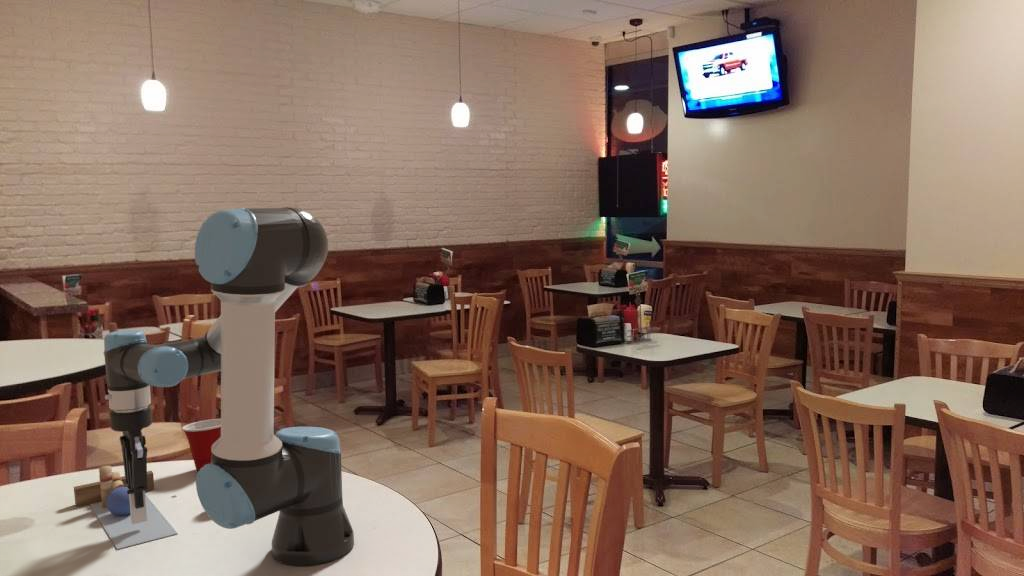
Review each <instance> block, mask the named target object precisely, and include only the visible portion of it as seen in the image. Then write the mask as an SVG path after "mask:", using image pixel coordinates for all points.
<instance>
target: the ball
mask: <svg viewBox="0 0 1024 576" xmlns="http://www.w3.org/2000/svg"><path fill="white" fill-rule="evenodd" d="M127 490H129V489H128V487H119V488H116V489H115V490H113V491H112V492H111V493H110V494H109V496H108V498H107V503H106V504H107V508H108V510H109V511H110V512H111V513H112V514H114V515H117V516H124V515H127V514H129V513H130V501H129V494H127Z"/></svg>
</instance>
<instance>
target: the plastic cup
mask: <svg viewBox="0 0 1024 576" xmlns="http://www.w3.org/2000/svg"><path fill="white" fill-rule="evenodd" d="M181 429H182V431H183V432H184V434H185V436H186V439H187V442H188V445H189V448H190V452H191V456H192V459H193V462H194V466H195V470H196V473H198V472H199V471H200V469H201V468H202V467H204V465H207V464H210V463H211V447H212V445H213V444H214V443H215V442H216V441H217V440H218V439H219V438H220V437H221V418H214V419H213V418H212V419H205V420H200V421H199V420H198V421H195V422H191V423H188V424H186V425H184V426H182V428H181Z"/></svg>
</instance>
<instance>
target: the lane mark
mask: <svg viewBox="0 0 1024 576" xmlns="http://www.w3.org/2000/svg"><path fill="white" fill-rule="evenodd" d="M145 498H146V511H147V521H145V522H141V523H137V524H132V523H131V514H130V513H129V514H127V515H124V516H117V515H114V514H112V513H111V512H110V511H109V510H108V508H102V501H101V502H96V503H92V504H89V506H90V507H91V510H92V511H93V512H94V515H95V516H96V517H97V519H98V520H99V522H100V524H101V525H102V527H103V529H104V530H105V532H106V534H107V536H109V538H110V540H111V542H112V543H113V546H114V547H115V549H116V550H117V551H118V550H122V549H126V548H130V547H133V546H138V545H141V544H145V543H149V542H153V541H156V540H159V539H161V540H162V539H164V538H168V537H173V536H176V535H178V532H177V531H176V530H175V528H174V527H173V526H172V525H171V523H170V522H169V521H168V519H166V517H165V516H164V515H163V513H162V512H161V511H160V510H159V509H158V507H156V505H155V504H154V503H153V501H151V499H150V498H149V497H148V496H147V495H146V494H145Z"/></svg>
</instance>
